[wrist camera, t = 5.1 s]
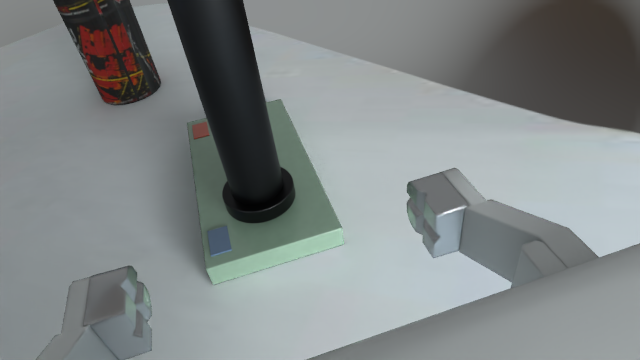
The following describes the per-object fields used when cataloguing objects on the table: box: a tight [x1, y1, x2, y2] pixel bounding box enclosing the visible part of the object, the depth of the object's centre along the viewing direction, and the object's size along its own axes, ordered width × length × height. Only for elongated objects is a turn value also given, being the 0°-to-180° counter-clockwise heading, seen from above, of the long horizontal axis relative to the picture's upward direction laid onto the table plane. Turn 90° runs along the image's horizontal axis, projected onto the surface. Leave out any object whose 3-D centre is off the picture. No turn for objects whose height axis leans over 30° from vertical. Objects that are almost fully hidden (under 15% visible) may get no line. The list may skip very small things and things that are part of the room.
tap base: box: [187, 99, 344, 285], centre depth 31 cm, size 8×16×2 cm, turn 17°
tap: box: [168, 0, 295, 224], centre depth 25 cm, size 4×9×14 cm, turn 17°
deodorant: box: [53, 0, 161, 105], centre depth 40 cm, size 6×6×15 cm
